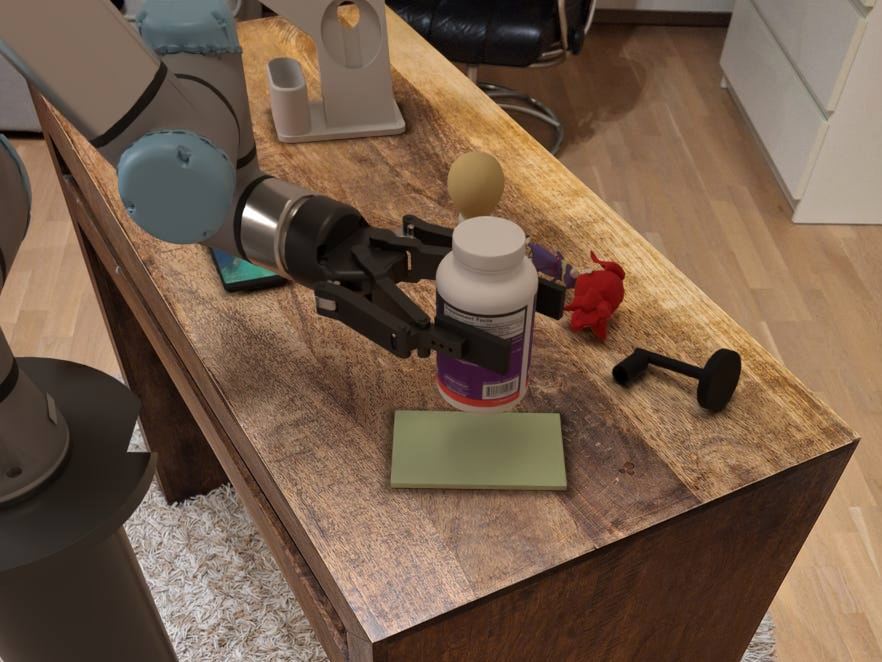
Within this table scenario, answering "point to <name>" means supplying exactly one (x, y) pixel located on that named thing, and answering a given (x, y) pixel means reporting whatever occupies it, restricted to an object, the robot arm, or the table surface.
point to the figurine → (584, 287)
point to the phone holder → (335, 75)
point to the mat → (477, 451)
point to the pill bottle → (487, 311)
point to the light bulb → (475, 184)
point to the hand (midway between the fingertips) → (535, 330)
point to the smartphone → (242, 273)
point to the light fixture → (689, 374)
